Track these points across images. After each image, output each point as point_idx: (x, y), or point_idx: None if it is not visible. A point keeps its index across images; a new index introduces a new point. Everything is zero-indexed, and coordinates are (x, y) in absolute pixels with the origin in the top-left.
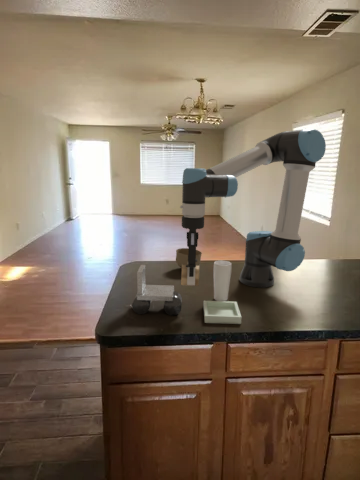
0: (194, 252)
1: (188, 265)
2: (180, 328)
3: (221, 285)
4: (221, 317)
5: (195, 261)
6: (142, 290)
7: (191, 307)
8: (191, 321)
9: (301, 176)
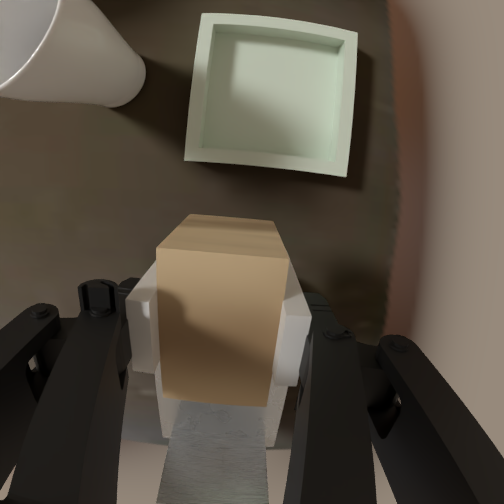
0: (491, 473)
1: (393, 404)
2: (366, 268)
3: (120, 59)
4: (351, 108)
5: (441, 378)
6: (256, 445)
7: (195, 213)
8: (322, 225)
9: None
